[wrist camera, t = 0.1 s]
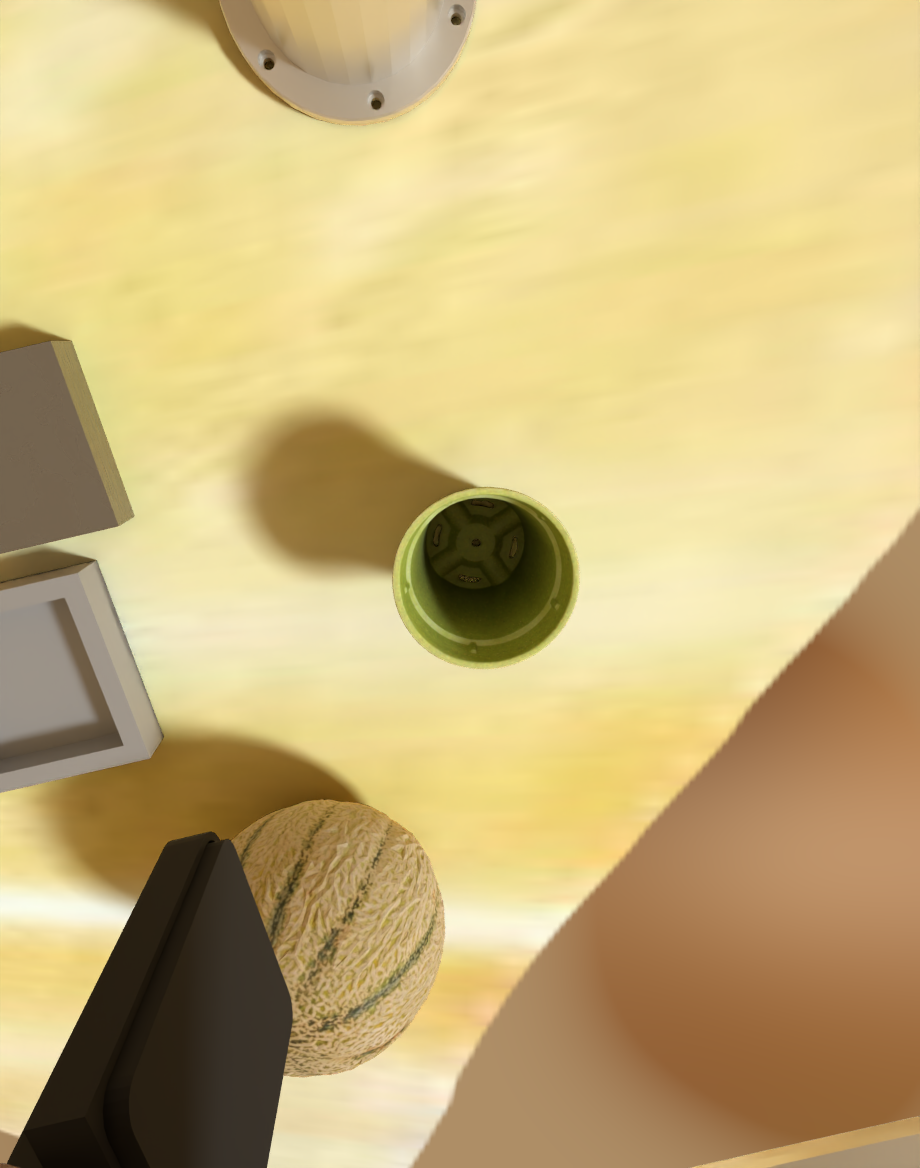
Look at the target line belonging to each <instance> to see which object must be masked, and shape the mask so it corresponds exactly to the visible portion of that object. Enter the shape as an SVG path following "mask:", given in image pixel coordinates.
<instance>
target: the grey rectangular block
mask: <svg viewBox="0 0 920 1168" xmlns="http://www.w3.org/2000/svg"><path fill="white" fill-rule="evenodd" d="M133 517H134V513H133V510H132V508H131V505H130V502H129V499H128V496H127V494H126V491H125V488H124V485H123V482H122V480H121V477H120V474H119V471H118V469H117V466H116V463H115V460H114V457H113V455H112V452H111V449H110V446H109V443H108V441H107V438H106V435H105V432H104V429H103V427H102V424H101V421H100V418H99V416H98V413H97V410H96V407H95V404H94V402H93V399H92V396H91V393H90V390H89V388H88V385H87V382H86V379H85V377H84V374H83V371H82V368H81V365H80V363H79V360H78V357H77V354H76V351H75V349H74V346H73V343H72V341H48V342H43V343H39V344H35V345H31V346H26V347H22V348H18V349H14V350H9V351H5V352H1V353H0V554H1V553H6V552H10V551H14V550H18V549H23V548H27V547H31V546H36V545H40V544H44V543H48V542H53V541H57V540H61V539H66V538H70V537H74V536H78V535H83V534H87V533H91V532H96V531H100V530H104V529H108V528H113V527H117V526H120V525H121V524H123V523H125V522H126V521H128V520H129V519H131V518H133Z"/></svg>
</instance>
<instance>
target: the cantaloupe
mask: <svg viewBox="0 0 920 1168" xmlns="http://www.w3.org/2000/svg"><path fill="white" fill-rule="evenodd" d="M231 842H232V843H233V844H234V847H235V849H236V851H237V854H238V857H239V859H240V862H241V865H242V867H243V870H244V873H245V875H246V878H247V881H248V883H249V886H250V889H251V891H252V894H253V897H254V899H255V902H256V905H257V907H258V910H259V913H260V915H261V918H262V921H263V923H264V926H265V929H266V932H267V934H268V937H269V940H270V942H271V945H272V948H273V950H274V953H275V956H276V958H277V961H278V964H279V966H280V969H281V972H282V974H283V977H284V980H285V982H286V985H287V988H288V990H289V993H290V997H291V1002H292V1010H293V1022H292V1030H291V1035H290V1041H289V1046H288V1052H287V1058H286V1063H285V1069H284V1074H283V1076H291V1077H309V1076H316V1075H331V1074H337V1073H341V1072H344V1071H347V1070H352V1069H354V1068H356V1067H357V1066H359V1065H361V1064H363V1063H365V1062H367V1061H369V1060H371V1059H373V1058H374V1057H376V1056H377V1055H378V1054H380V1053H381V1052H382V1051H384V1050H385V1049H386V1048H387V1047H388V1046H389V1045H391V1044H392V1043H393V1042H394V1041H395V1040H396V1039H397V1038H399V1037H400V1036H401V1035H402V1034H403V1032H404V1031H405V1030H406V1028H407V1027H408V1026H409V1024H410V1023H411V1022H412V1020H413V1019H414V1017H415V1015H416V1014H417V1012H418V1011H419V1010H420V1008H421V1006H422V1005H423V1003H424V1002H425V1000H426V999H427V997H428V994H429V992H430V990H431V988H432V986H433V984H434V981H435V978H436V975H437V972H438V969H439V965H440V962H441V957H442V952H443V944H444V936H445V922H444V906H443V900H442V897H441V893H440V890H439V887H438V883H437V880H436V878H435V875H434V872H433V869H432V865H431V862H430V860H429V858H428V856H427V855H426V853H425V851H424V850H423V848H422V847H421V845H420V844H419V842H418V841H417V840H416V838H415V837H414V836H413V834H412V833H410V832H409V831H408V830H406V829H405V828H404V827H402V826H401V825H400V824H398V823H397V822H395V821H393V820H391V819H390V818H389V817H388V816H387V815H385V814H384V813H382V812H380V811H378V810H376V809H374V808H372V807H370V806H367V805H363V804H359V803H357V802H356V803H352V802H339V801H334V800H331V799H329V800H323V799H321V800H312V801H305V802H302V803H299V804H296V805H294V806H291V807H288V808H284V809H281V810H278V811H275V812H272V813H270V814H268V815H266V816H264V817H262V818H260V819H259V820H257V821H256V822H254V823H253V824H251V825H250V826H249V827H247V828H246V829H244V830H242V831H241V832H240V833H239V834H238V835H237V836H236V837H235V838H234V839H232V840H231Z"/></svg>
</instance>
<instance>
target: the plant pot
mask: <svg viewBox="0 0 920 1168" xmlns="http://www.w3.org/2000/svg"><path fill="white" fill-rule="evenodd" d="M473 500H477V501H488V502H490V503H493V506H494V507H493V508H489V507H485V506H479V505H472V504H471V502H472V501H473ZM439 524H441V525H442V529H441V532H440V536H439V546H437V547H436V546H435V545H434V543H433V538H434V533H435V529H436V527H437V526H438V525H439ZM514 536H515V538H516V539H517V551H516V553H515V555H514V557H513V558H509V553H510V550H511V547H512V541H513V537H514ZM474 539H478V540H480V545H479V546H478V547H475V546H473V545H472V541H473V540H474ZM459 575H465V576H468V577H474V578H475V577H477V578H480V580H479V581H478V582H466V581H463V580H461V579H460V578H459ZM392 583H393V593H394V599H395V603H396V606H397V609H398V612H399V615H400V617H401V619H402V621H403V623H404V625H405V626H406V628H407V629H408V631H409V632H410V634H411V635H412V637H413V638H414V639H415V640H416V641H417V642H418V643H419V644H420V645H421V646H422V647H423V648H425V649H426V650H427V651H428V652H430V653H431V654H433V655H435V656H436V657H438V658H440V659H442V660H444V661H446V662H448V663H451V664H454V665H457V666H461V667H466V668H473V669H495V668H501V667H506V666H510V665H513V664H516V663H519V662H521V661H523V660H526V659H528V658H530V657H531V656H533V655H535V654H536V653H538V652H539V651H541V650H542V649H544V648H545V647H546V646H547V645H549V644H550V643H551V642H552V641H553V640H554V639H555V638H556V637H557V636H558V635H559V633H560V632H561V631H562V629H563V628H564V626H565V625H566V623H567V622H568V620H569V618H570V616H571V614H572V612H573V609H574V607H575V604H576V601H577V597H578V591H579V583H580V570H579V563H578V557H577V554H576V550H575V547H574V544H573V542H572V539H571V537H570V536H569V534H568V532H567V530H566V529H565V527H564V526H563V525H562V523H561V522H560V521H559V519H558V518H557V517H556V516H555V515H554V514H553V513H552V512H551V511H550V510H549V509H547V508H546V507H545V506H544V505H542V504H541V503H539V502H538V501H536V500H534V499H533V498H531V497H529V496H526V495H524V494H522V493H519V492H516V491H512V490H508V489H504V488H494V487H479V488H471V489H466V490H462V491H459V492H456V493H453V494H450V495H448V496H446V497H444V498H442V499H440V500H438V501H436V502H435V503H433V504H432V505H430V506H429V507H428V508H426V509H425V510H424V511H423V512H422V513H421V514H420V515H419V516H418V517H417V518H416V519H415V520H414V521H413V522H412V524H411V525H410V526H409V528H408V529H407V531H406V533H405V534H404V536H403V538H402V540H401V542H400V544H399V547H398V550H397V552H396V556H395V560H394V566H393V576H392Z"/></svg>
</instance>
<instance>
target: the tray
mask: <svg viewBox="0 0 920 1168" xmlns="http://www.w3.org/2000/svg"><path fill="white" fill-rule="evenodd" d="M163 737H164V736H163V734H162V731H161V728H160V726H159V723H158V721H157V718H156V715H155V713H154V710H153V707H152V705H151V702H150V699H149V697H148V694H147V692H146V689H145V686H144V684H143V681H142V678H141V676H140V673H139V671H138V668H137V665H136V663H135V660H134V657H133V655H132V652H131V649H130V647H129V644H128V642H127V639H126V636H125V634H124V631H123V628H122V626H121V623H120V620H119V618H118V615H117V613H116V610H115V607H114V605H113V602H112V599H111V597H110V594H109V591H108V589H107V586H106V584H105V581H104V578H103V576H102V573H101V570H100V568H99V565H98V563H97V560H95V561H91V562H87V563H82V564H78V565H74V566H69V567H65V568H61V569H56V570H52V571H48V572H44V573H39V574H35V575H31V576H26V577H22V578H18V579H13V580H9V581H5V582H0V793H1V792H6V791H10V790H15V789H19V788H23V787H28V786H32V785H36V784H41V783H45V782H50V781H54V780H58V779H63V778H67V777H71V776H76V775H80V774H85V773H89V772H93V771H98V770H102V769H106V768H111V767H115V766H120V765H124V764H128V763H133V762H137V761H141V760H146V759H150V758H151V756H152V755H153V753H154V752H155V750H156V748H157V747H158V745H159V744H160V742H161V741H162V739H163Z"/></svg>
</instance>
